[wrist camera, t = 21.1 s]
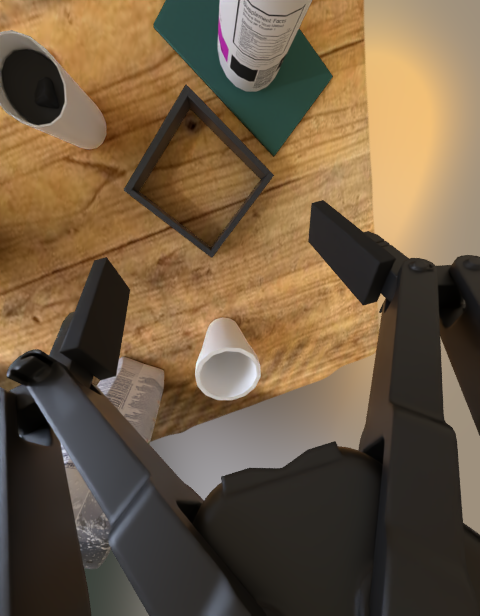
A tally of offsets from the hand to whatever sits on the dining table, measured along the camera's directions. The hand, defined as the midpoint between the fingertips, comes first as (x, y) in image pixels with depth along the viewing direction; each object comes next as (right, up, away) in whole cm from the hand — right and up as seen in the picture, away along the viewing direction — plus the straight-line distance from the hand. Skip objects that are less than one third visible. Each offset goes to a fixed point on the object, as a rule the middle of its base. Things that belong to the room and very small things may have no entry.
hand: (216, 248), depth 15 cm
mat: (+3, +29, +14) cm, 32 cm away
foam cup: (-2, -9, +29) cm, 31 cm away
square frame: (-4, +15, +19) cm, 25 cm away
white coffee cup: (-19, +20, +15) cm, 32 cm away
